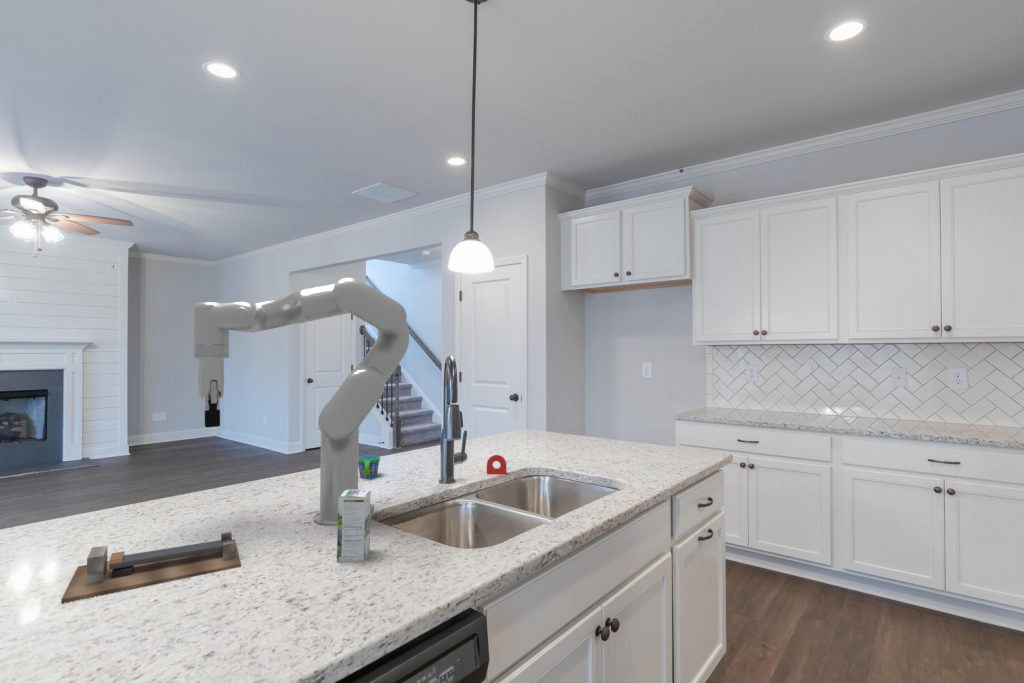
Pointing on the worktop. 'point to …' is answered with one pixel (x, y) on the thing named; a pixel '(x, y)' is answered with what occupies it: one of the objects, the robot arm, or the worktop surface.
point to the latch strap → (165, 554)
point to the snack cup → (368, 466)
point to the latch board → (144, 571)
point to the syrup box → (353, 525)
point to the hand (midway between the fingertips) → (212, 426)
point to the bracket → (493, 470)
